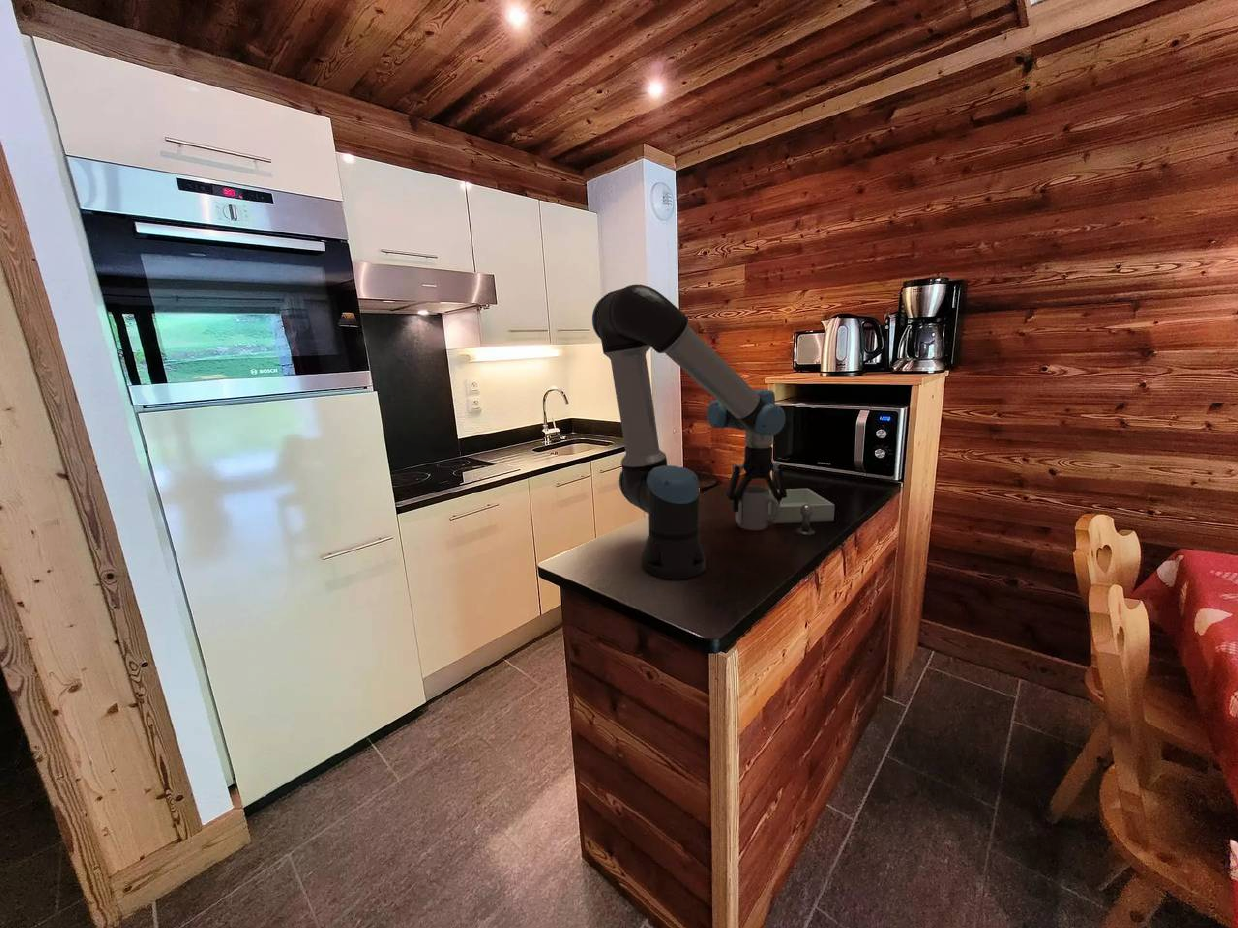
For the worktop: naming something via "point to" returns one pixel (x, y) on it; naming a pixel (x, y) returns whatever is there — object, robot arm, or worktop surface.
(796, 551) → the worktop surface
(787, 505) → the bin
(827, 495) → the worktop surface
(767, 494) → the mug
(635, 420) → the robot arm
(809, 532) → the stud post
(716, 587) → the worktop surface
